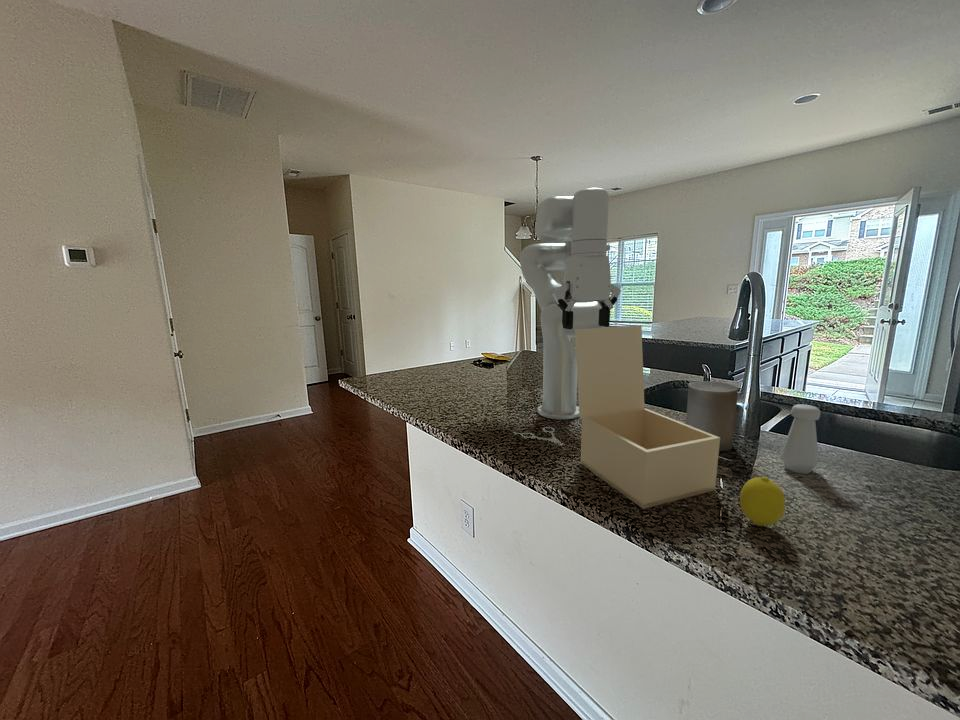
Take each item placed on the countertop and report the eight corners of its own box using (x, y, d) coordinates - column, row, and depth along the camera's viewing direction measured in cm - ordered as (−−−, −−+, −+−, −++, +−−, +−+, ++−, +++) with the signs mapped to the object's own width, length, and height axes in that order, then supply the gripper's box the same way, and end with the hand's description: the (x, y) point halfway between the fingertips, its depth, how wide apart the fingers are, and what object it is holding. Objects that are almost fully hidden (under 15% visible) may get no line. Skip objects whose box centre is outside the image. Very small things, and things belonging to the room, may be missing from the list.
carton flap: (581, 417, 79) (560, 411, 87) (644, 408, 85) (619, 402, 92) (577, 329, 78) (556, 330, 86) (641, 325, 83) (616, 326, 91)
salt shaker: (782, 459, 81) (790, 399, 79) (818, 468, 77) (827, 405, 74) (776, 469, 77) (785, 406, 74) (814, 479, 73) (824, 412, 70)
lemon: (766, 541, 56) (773, 490, 54) (729, 520, 61) (734, 473, 59) (790, 531, 58) (797, 481, 57) (751, 511, 63) (757, 465, 62)
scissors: (545, 424, 104) (603, 450, 87) (545, 427, 104) (603, 453, 87) (512, 432, 98) (567, 461, 81) (512, 435, 98) (567, 464, 82)
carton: (580, 463, 81) (581, 417, 79) (642, 451, 86) (644, 408, 85) (643, 508, 64) (646, 452, 63) (714, 490, 70) (720, 437, 68)
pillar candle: (734, 440, 91) (740, 378, 88) (731, 455, 83) (737, 387, 81) (687, 432, 97) (692, 373, 94) (680, 446, 89) (685, 382, 86)
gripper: (610, 251, 92) (607, 323, 95) (545, 251, 86) (544, 328, 90) (632, 248, 85) (628, 327, 88) (563, 248, 79) (561, 331, 83)
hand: (586, 327), depth 89 cm, fingers open, 9 cm apart
